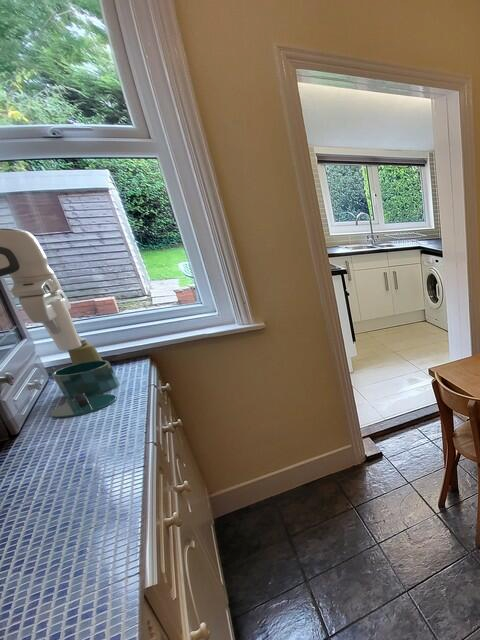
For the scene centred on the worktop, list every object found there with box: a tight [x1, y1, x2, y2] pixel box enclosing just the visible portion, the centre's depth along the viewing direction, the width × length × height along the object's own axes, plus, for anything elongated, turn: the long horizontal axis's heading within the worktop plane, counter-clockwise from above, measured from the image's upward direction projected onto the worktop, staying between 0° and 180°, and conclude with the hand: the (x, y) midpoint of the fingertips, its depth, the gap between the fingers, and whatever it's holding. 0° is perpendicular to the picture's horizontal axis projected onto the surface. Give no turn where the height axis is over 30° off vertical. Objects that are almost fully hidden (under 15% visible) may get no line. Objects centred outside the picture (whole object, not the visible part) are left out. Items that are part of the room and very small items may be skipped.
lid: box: [50, 393, 117, 419], centre depth 124 cm, size 14×14×5 cm
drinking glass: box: [41, 299, 82, 352], centre depth 127 cm, size 7×7×15 cm
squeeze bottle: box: [67, 333, 103, 365], centre depth 144 cm, size 8×8×18 cm
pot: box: [51, 359, 120, 400], centre depth 135 cm, size 13×13×8 cm
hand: (61, 330), depth 128 cm, fingers closed on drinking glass, 6 cm apart
